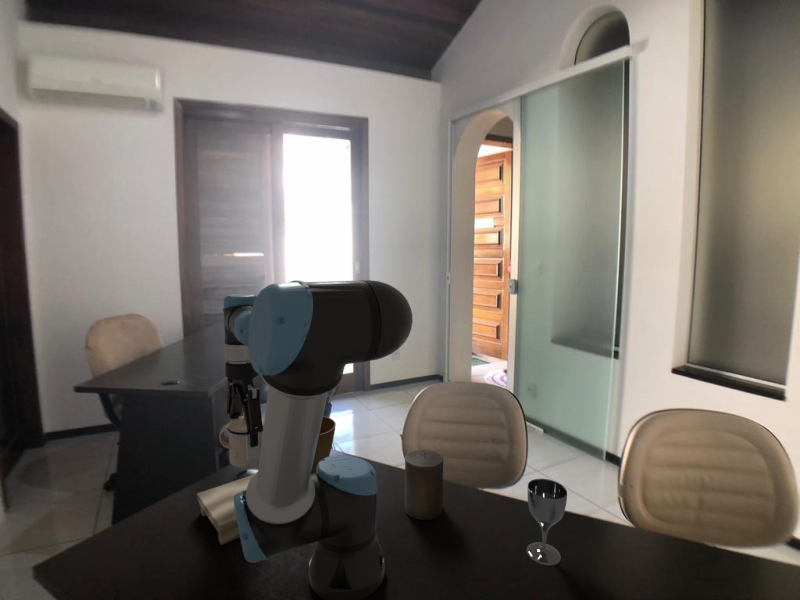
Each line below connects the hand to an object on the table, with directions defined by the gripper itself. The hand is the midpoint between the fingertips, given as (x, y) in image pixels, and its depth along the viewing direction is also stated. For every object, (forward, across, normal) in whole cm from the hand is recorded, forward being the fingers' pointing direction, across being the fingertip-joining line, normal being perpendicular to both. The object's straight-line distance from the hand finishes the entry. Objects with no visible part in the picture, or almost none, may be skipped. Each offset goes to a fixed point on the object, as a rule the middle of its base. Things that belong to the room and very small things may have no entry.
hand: (244, 450), depth 104 cm
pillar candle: (+16, -26, -35) cm, 47 cm away
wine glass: (+16, -55, -44) cm, 72 cm away
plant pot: (+16, +5, -20) cm, 26 cm away
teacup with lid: (+3, +1, 0) cm, 3 cm away
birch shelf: (+16, 0, 0) cm, 16 cm away
